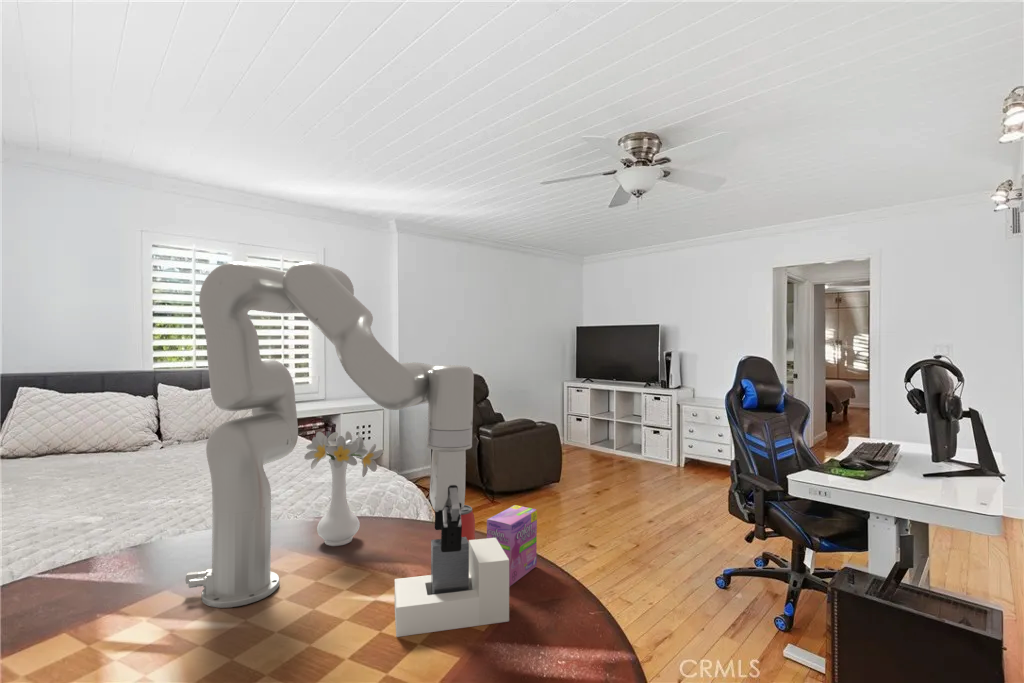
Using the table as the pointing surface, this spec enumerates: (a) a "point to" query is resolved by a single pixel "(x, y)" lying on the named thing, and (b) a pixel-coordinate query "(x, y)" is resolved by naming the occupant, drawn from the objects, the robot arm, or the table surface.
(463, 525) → the beer can
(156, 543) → the table surface
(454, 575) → the gray rectangular block
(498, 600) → the post block
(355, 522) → the flower vase
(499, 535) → the box
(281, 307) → the robot arm
